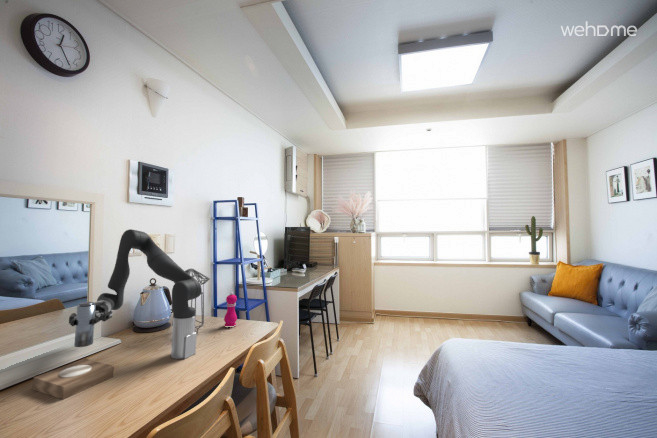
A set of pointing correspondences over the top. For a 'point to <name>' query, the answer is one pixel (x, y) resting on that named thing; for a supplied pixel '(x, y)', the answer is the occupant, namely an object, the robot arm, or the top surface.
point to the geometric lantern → (196, 273)
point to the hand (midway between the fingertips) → (83, 322)
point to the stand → (72, 378)
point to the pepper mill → (230, 310)
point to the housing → (84, 324)
